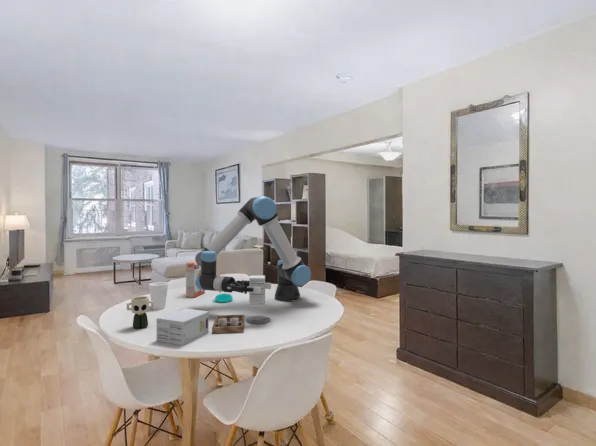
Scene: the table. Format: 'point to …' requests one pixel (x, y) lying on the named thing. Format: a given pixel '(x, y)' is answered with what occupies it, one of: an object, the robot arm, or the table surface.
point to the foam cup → (158, 294)
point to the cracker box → (192, 280)
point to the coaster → (258, 319)
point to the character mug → (140, 310)
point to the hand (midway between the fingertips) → (265, 288)
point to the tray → (228, 324)
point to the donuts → (223, 298)
